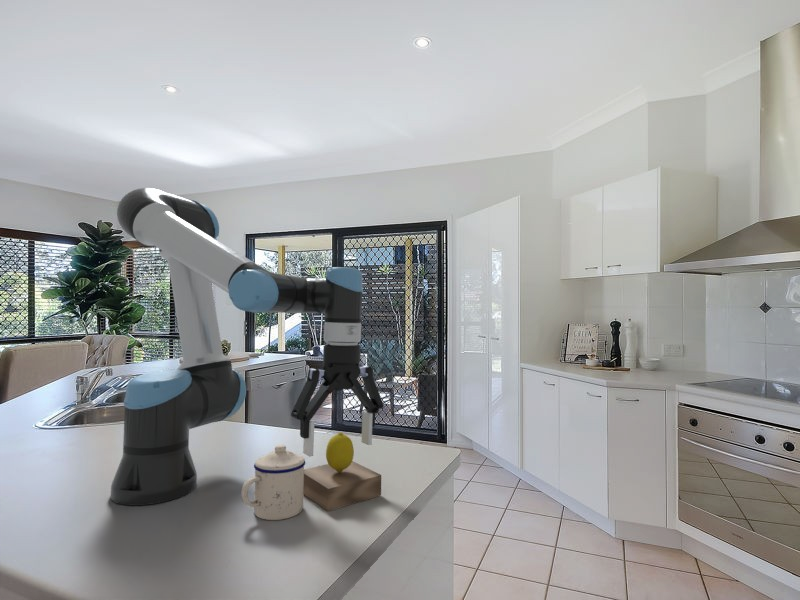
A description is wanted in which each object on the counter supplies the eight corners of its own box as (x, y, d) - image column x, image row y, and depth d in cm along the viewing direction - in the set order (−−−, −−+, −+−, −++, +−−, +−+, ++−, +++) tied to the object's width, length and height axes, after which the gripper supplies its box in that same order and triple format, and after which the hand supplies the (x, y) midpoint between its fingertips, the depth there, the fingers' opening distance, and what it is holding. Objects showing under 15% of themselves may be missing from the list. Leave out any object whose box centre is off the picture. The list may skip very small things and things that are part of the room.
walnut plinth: (327, 511, 81) (328, 488, 81) (298, 490, 91) (299, 470, 91) (381, 495, 89) (381, 475, 89) (348, 477, 98) (349, 459, 98)
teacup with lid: (284, 496, 88) (286, 436, 88) (314, 509, 82) (315, 445, 82) (227, 516, 78) (229, 449, 79) (256, 533, 73) (258, 460, 73)
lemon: (351, 478, 87) (352, 436, 87) (323, 477, 87) (324, 435, 87) (354, 468, 92) (355, 429, 93) (328, 467, 93) (329, 428, 93)
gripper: (293, 346, 80) (288, 465, 79) (401, 343, 96) (398, 443, 95) (276, 343, 86) (272, 454, 85) (380, 341, 101) (377, 435, 101)
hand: (338, 448), depth 90 cm, fingers open, 13 cm apart
